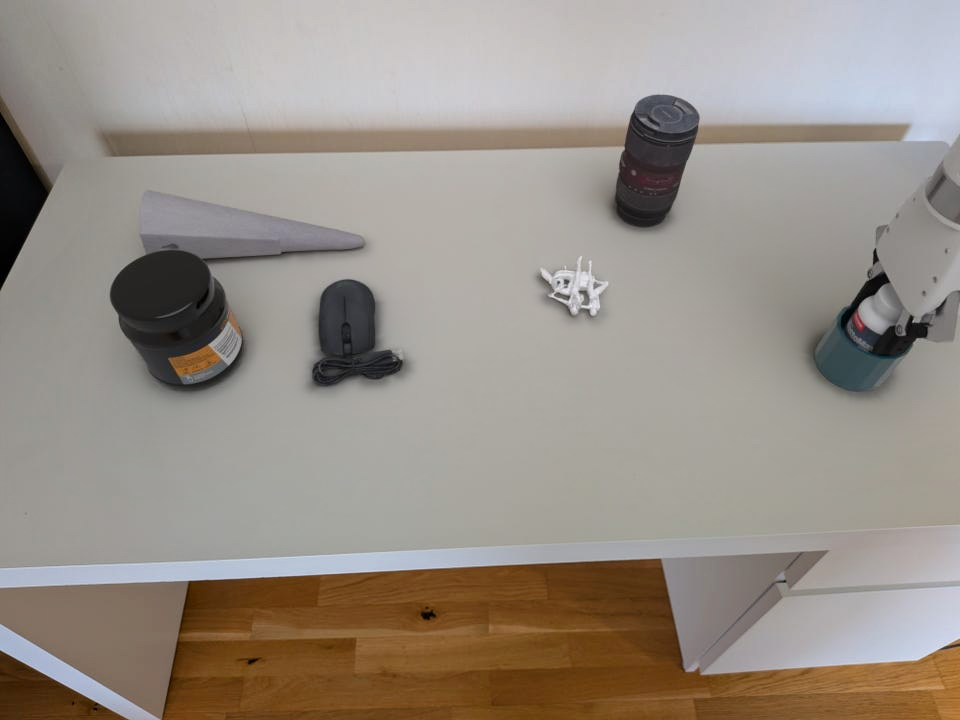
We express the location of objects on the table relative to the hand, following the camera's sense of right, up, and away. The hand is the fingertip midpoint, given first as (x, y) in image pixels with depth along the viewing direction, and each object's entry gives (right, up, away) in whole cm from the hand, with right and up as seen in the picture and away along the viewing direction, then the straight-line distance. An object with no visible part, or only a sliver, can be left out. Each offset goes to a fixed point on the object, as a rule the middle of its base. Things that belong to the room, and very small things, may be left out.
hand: (876, 328), depth 71 cm
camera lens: (-20, +17, +20) cm, 33 cm away
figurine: (-30, +4, +11) cm, 33 cm away
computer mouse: (-56, 0, +7) cm, 57 cm away
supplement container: (-73, -3, +5) cm, 73 cm away
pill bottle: (0, -2, +3) cm, 4 cm away
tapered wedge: (-70, +12, +16) cm, 73 cm away
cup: (0, -4, +5) cm, 6 cm away
